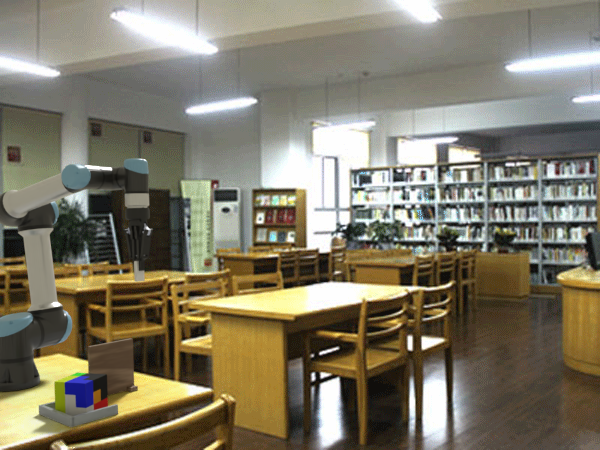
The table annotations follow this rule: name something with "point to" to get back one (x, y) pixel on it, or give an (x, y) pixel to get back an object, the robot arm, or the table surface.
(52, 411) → the corral
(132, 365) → the screen
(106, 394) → the puzzle toy
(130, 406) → the table surface
